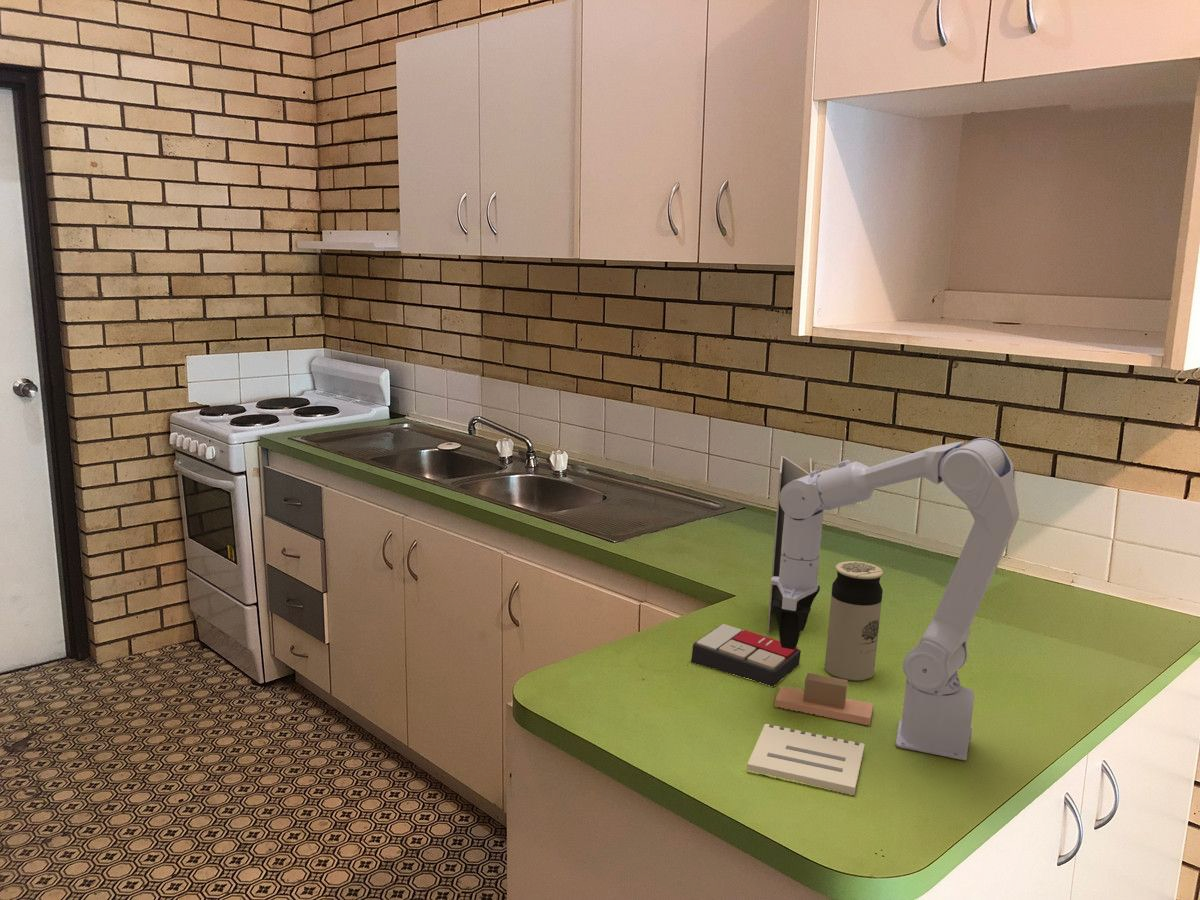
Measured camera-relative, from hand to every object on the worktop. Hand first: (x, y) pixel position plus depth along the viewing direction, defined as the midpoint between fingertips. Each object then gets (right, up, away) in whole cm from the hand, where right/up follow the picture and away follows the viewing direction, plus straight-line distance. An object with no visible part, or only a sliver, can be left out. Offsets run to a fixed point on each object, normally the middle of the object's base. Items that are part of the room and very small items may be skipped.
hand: (792, 638), depth 151 cm
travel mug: (+12, -8, +11) cm, 18 cm away
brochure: (+4, -3, +32) cm, 32 cm away
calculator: (-5, -7, +13) cm, 16 cm away
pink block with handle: (+4, -10, -2) cm, 11 cm away
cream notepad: (-2, -14, -17) cm, 22 cm away
